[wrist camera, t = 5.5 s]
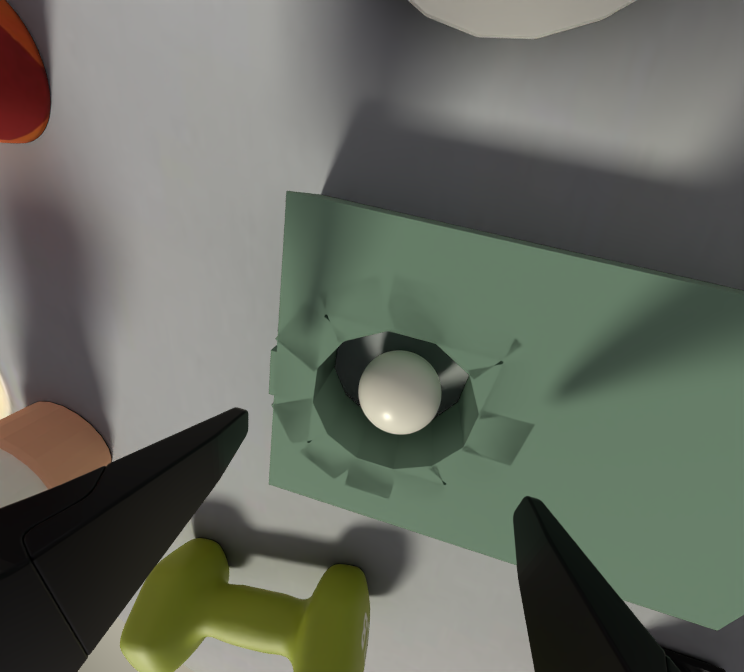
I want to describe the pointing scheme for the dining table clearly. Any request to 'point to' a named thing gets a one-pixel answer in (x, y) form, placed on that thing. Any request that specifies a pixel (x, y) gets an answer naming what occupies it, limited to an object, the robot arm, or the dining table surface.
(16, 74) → the paper cup
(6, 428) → the salt shaker
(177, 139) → the dining table surface
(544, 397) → the green slab with hollow
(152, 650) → the dumbbell
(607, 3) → the teacup
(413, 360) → the ball
